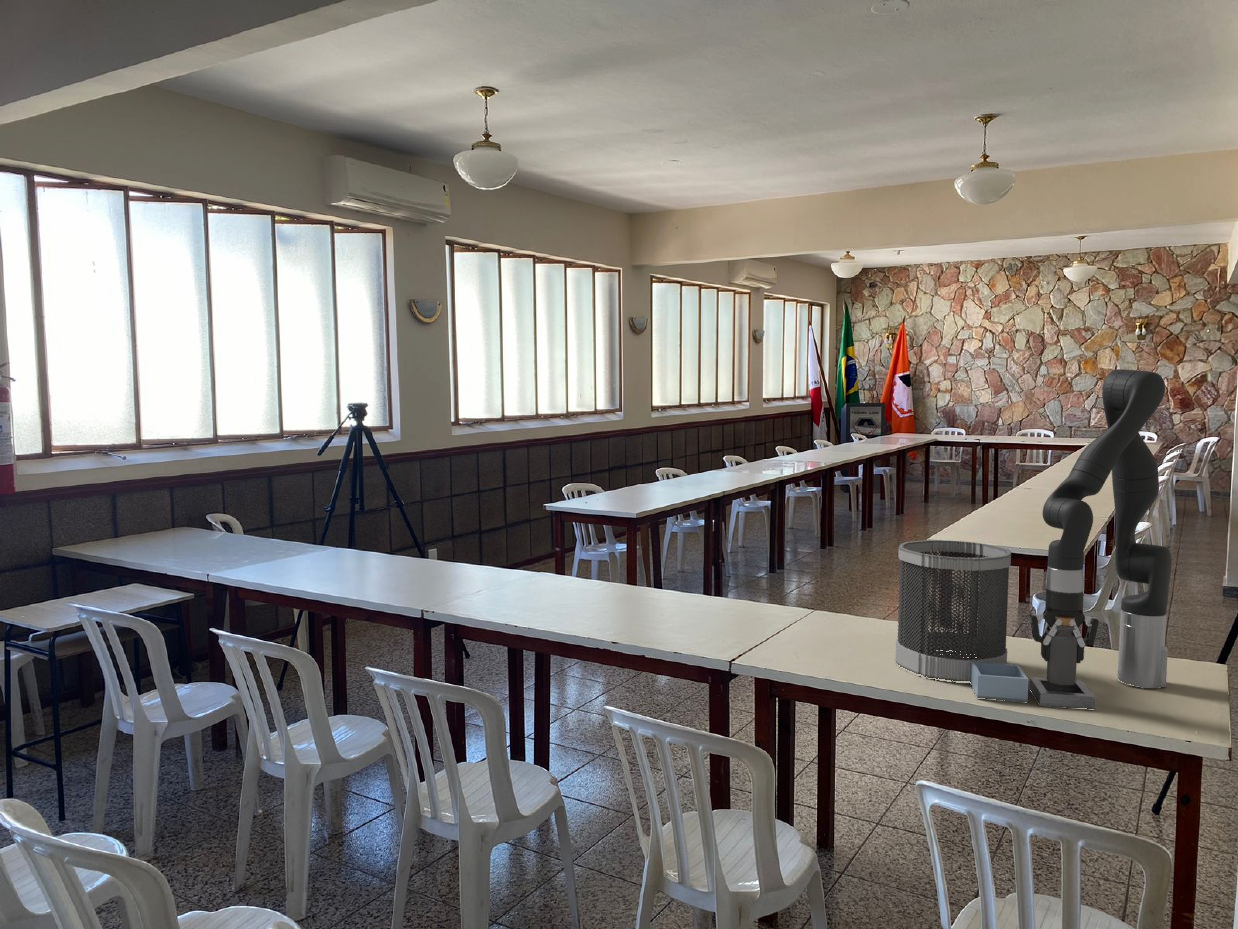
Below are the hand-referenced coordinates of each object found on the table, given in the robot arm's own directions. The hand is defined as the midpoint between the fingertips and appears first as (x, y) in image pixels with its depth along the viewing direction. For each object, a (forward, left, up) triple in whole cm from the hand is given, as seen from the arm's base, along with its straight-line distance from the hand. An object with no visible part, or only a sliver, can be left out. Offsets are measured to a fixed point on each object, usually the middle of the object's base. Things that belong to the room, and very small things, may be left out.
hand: (1062, 661), depth 197 cm
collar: (0, +1, -9) cm, 9 cm away
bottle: (0, 0, -5) cm, 5 cm away
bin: (+13, 0, -9) cm, 16 cm away
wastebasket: (+21, -19, -9) cm, 30 cm away
